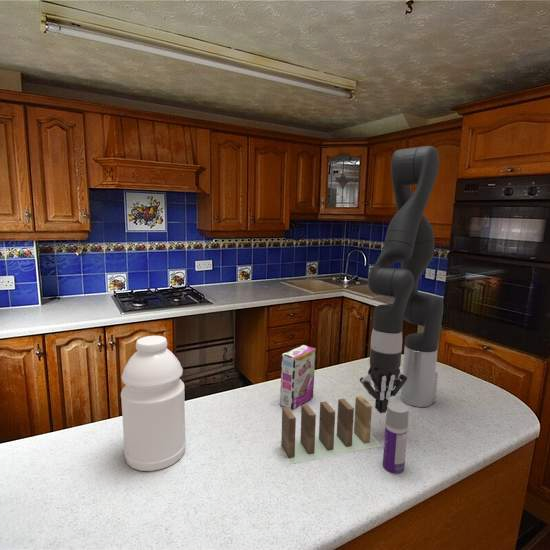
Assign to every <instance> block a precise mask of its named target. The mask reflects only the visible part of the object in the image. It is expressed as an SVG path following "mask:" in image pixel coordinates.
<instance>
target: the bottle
mask: <svg viewBox="0 0 550 550" xmlns="http://www.w3.org/2000/svg"><path fill="white" fill-rule="evenodd" d="M135 349H136V351H135V352H133V354H132V356H130V358H129V359H128V360H127V363H126V365H125V366H124V369H123V370H122V371H123V372H122V375H121V381H122V383H123V384H124V385H125V386H123V388H122V389H121V392H120V399H121V413H122V431H123V433H122V434H123V446H124V447H123V448H124V449H123V453H124V458H125V461H126V464H127V465H128V466H129V467H130V468H132V469H134V470H137V471H141V472H142V471H143V472H144V471H145V472H153V471H158V470H162V469H165V468H168V467H169V466H172V465H174V464H175V463H176V462H178V461H179V460H181V458H182V457H183V455H184V454H185V452H186V442H187V439H186V411H185V410H186V408H185V389H186V388H185V383H184V381H182V379H181V377H182V376H183V370H184V368H183V367H182V365H181V362H180V361H179V359H178V358H177V356H175V354H174V353H173V352H172V351H171V350H170V349H168V339H167V338H166V337H165V336H163V335H147V336H142V337H140V338H138V339H137V341H136V342H135Z"/></svg>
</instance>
